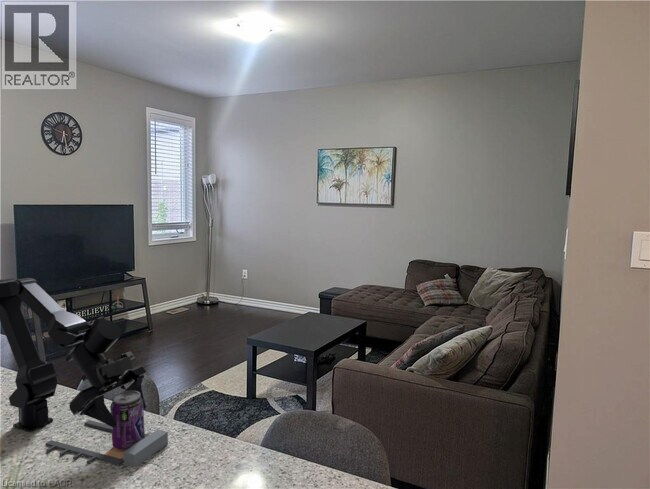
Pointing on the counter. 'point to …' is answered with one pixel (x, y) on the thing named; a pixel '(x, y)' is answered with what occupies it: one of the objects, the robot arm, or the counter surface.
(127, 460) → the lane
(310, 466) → the counter surface
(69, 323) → the robot arm
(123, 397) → the beverage can
